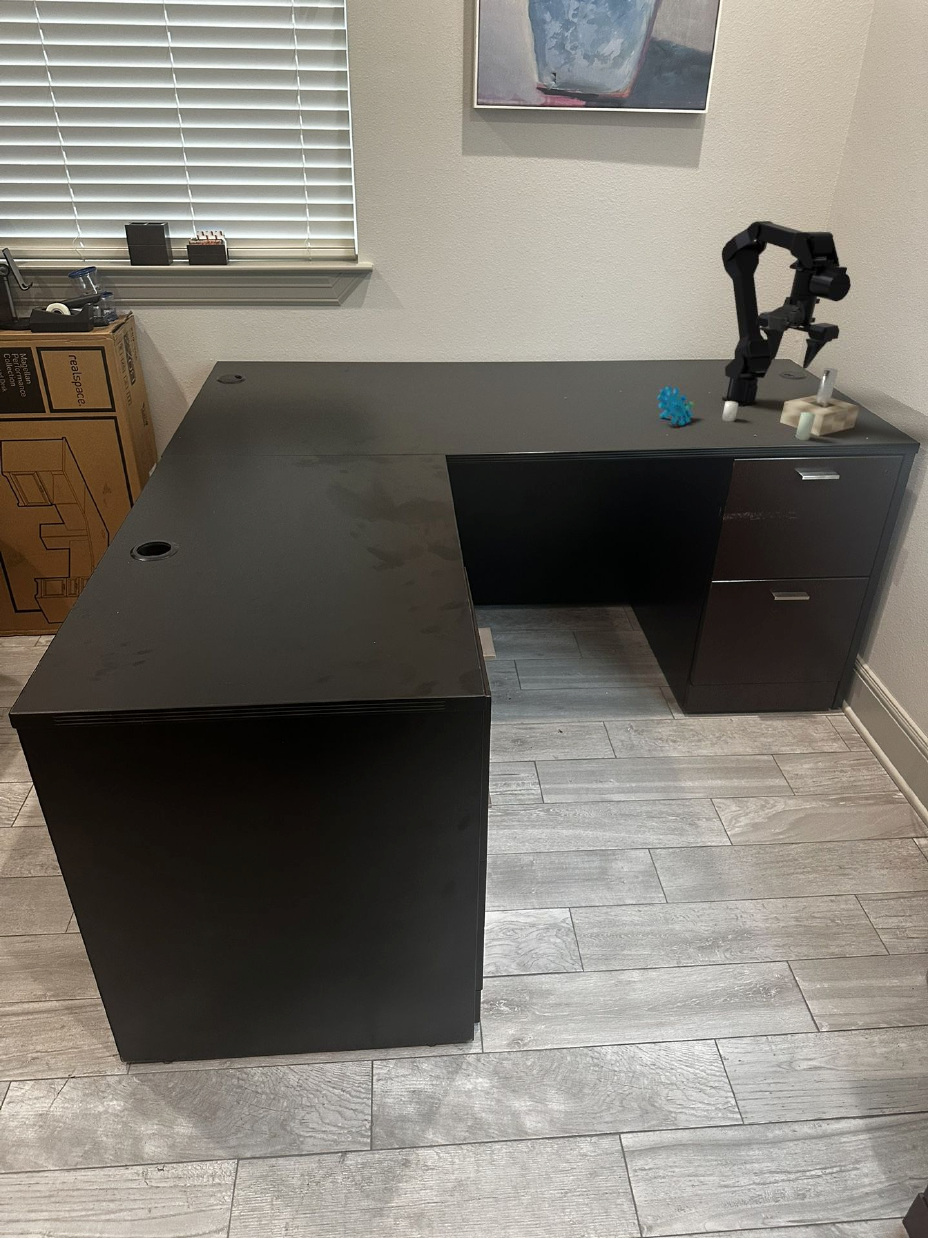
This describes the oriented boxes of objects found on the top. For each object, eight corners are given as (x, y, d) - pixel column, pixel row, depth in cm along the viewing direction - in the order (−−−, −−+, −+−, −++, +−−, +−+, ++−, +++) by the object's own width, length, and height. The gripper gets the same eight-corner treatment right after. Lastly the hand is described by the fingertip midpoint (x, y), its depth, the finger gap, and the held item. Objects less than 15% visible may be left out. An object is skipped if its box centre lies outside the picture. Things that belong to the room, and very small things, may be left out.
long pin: (811, 426, 197) (825, 370, 190) (809, 422, 200) (823, 367, 193) (824, 427, 197) (838, 371, 190) (822, 423, 199) (836, 368, 192)
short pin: (719, 418, 200) (722, 402, 198) (728, 416, 202) (731, 400, 200) (728, 422, 198) (732, 405, 196) (737, 420, 200) (741, 403, 197)
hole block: (779, 422, 199) (784, 401, 196) (814, 414, 205) (819, 394, 203) (818, 435, 191) (824, 414, 189) (853, 427, 197) (859, 406, 195)
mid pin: (792, 436, 190) (798, 413, 187) (801, 434, 192) (807, 411, 189) (803, 440, 188) (809, 417, 185) (812, 438, 189) (818, 415, 187)
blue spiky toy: (669, 423, 191) (656, 384, 193) (652, 435, 196) (639, 397, 198) (702, 422, 197) (689, 385, 198) (685, 434, 202) (672, 397, 203)
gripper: (747, 288, 189) (733, 358, 197) (816, 303, 176) (799, 377, 184) (779, 285, 195) (765, 353, 203) (849, 299, 181) (830, 371, 190)
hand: (788, 363), depth 195 cm, fingers open, 9 cm apart
